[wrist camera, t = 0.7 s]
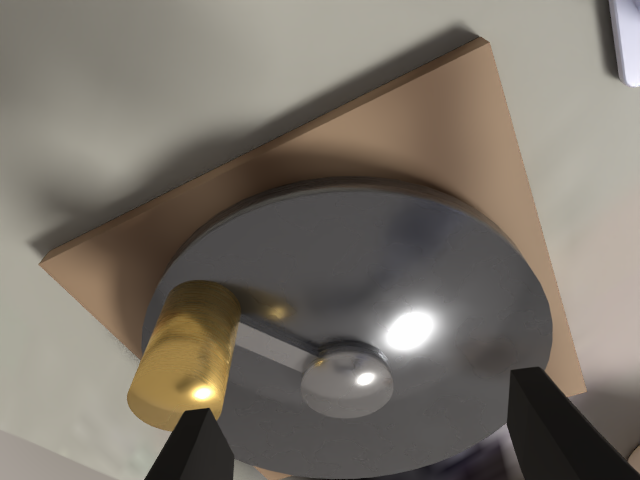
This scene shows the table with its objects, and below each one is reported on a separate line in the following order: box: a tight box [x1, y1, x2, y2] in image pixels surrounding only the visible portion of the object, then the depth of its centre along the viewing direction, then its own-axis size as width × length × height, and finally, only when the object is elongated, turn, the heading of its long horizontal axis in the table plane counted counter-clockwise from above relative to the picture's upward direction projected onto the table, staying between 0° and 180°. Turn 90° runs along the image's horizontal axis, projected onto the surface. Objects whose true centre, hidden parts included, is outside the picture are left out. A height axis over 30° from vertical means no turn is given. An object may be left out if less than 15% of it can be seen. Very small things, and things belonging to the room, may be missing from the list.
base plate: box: [38, 37, 587, 480], centre depth 23 cm, size 20×20×1 cm
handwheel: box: [127, 176, 553, 479], centre depth 20 cm, size 18×18×6 cm
